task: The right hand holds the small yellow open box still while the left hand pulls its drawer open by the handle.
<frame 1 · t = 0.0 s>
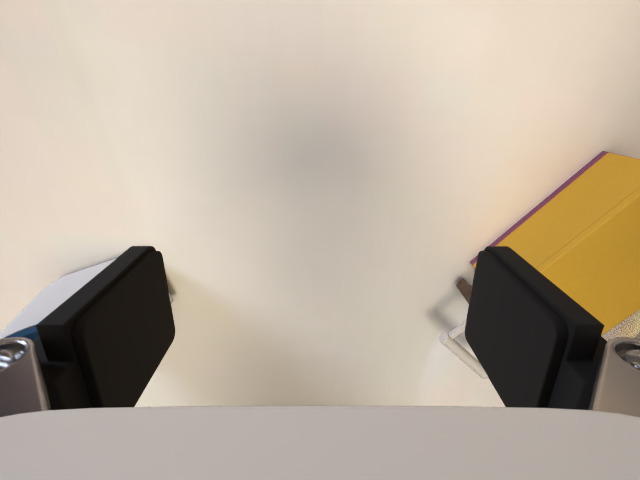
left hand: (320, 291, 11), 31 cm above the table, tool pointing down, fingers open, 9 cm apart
yellow open box: (559, 239, 44), on the table
electronic device: (120, 285, 46), on the table
drawer: (534, 292, 42), point 4 cm above the table, slide at 1.9 cm
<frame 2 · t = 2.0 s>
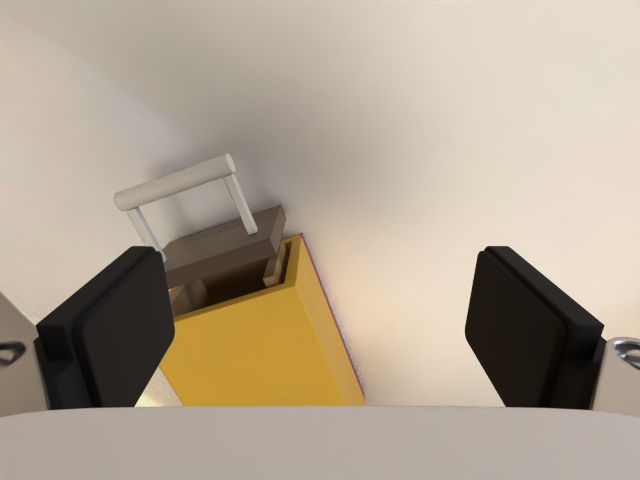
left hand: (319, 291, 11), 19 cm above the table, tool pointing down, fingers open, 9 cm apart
yellow open box: (280, 336, 35), on the table
drawer: (245, 307, 28), point 4 cm above the table, slide at 1.9 cm
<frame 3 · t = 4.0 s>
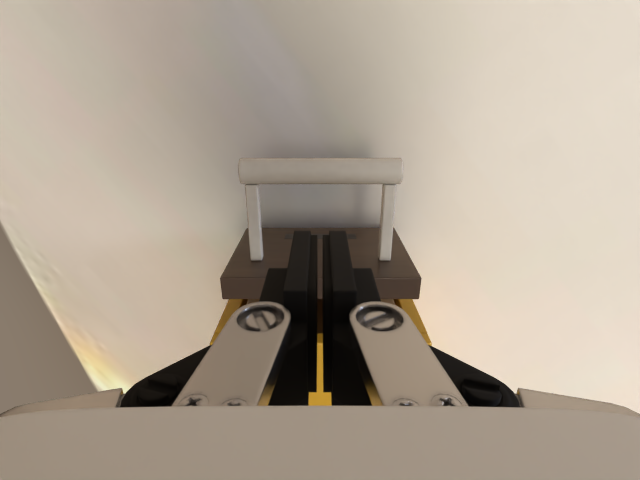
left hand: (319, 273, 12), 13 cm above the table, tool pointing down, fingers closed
yellow open box: (320, 366, 30), on the table, touching right hand
drawer: (320, 334, 23), point 4 cm above the table, slide at 1.9 cm
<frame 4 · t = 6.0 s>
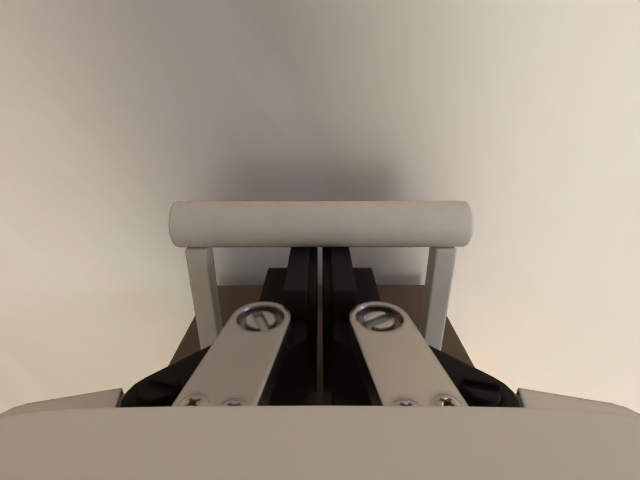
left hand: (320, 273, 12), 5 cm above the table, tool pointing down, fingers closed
drawer: (320, 450, 15), point 5 cm above the table, slide at 2.4 cm, touching left hand
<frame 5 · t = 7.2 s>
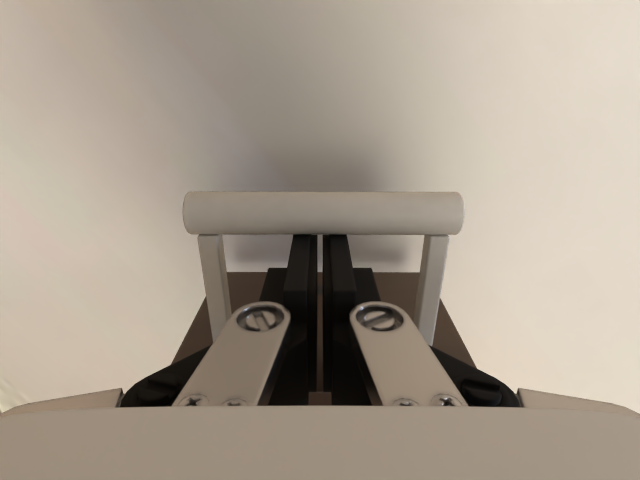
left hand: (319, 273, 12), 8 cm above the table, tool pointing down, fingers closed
drawer: (322, 426, 16), point 6 cm above the table, slide at 7.7 cm
when the right hand's fingers open (4 cm above the table, at t = 8.5 s): yellow open box stays where it is, on the table.
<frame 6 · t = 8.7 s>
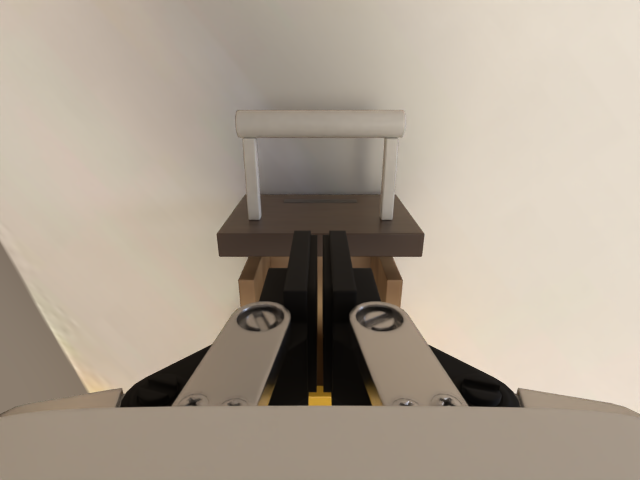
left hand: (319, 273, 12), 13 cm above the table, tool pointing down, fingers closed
yellow open box: (320, 398, 31), on the table
drawer: (320, 302, 23), point 4 cm above the table, slide at 7.7 cm
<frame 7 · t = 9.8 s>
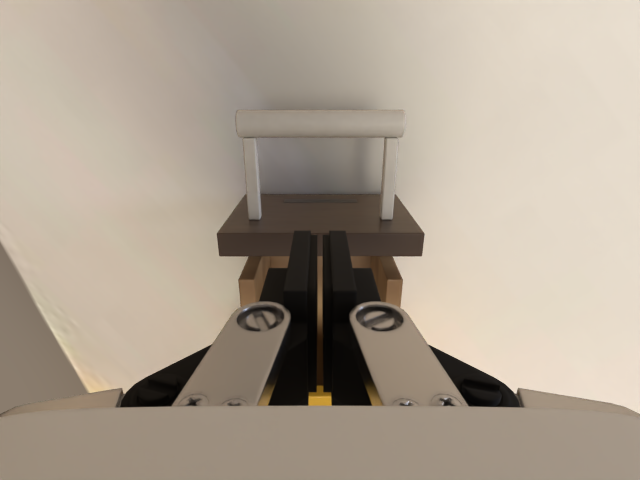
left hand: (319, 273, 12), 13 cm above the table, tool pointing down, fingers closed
yellow open box: (320, 398, 31), on the table
drawer: (320, 302, 23), point 4 cm above the table, slide at 7.7 cm
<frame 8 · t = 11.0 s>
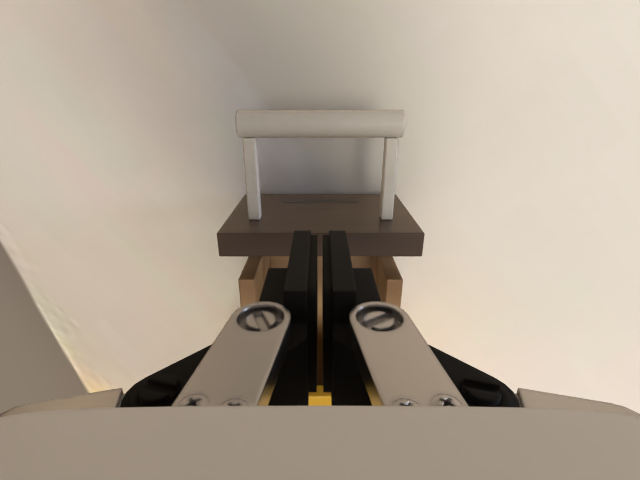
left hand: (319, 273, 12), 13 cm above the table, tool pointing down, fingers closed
yellow open box: (320, 398, 31), on the table
drawer: (320, 302, 23), point 4 cm above the table, slide at 7.7 cm
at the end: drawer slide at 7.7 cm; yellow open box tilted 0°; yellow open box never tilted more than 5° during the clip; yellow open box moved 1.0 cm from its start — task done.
